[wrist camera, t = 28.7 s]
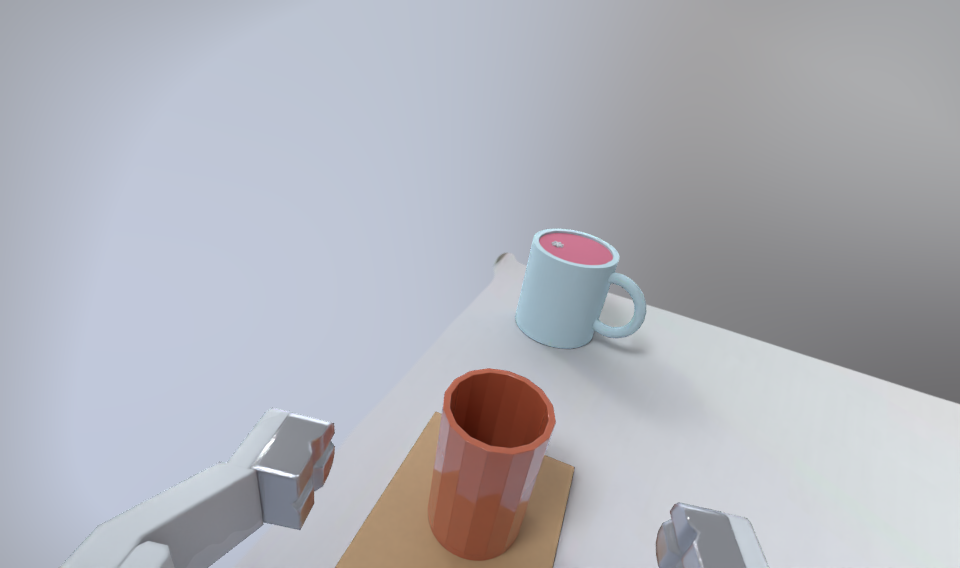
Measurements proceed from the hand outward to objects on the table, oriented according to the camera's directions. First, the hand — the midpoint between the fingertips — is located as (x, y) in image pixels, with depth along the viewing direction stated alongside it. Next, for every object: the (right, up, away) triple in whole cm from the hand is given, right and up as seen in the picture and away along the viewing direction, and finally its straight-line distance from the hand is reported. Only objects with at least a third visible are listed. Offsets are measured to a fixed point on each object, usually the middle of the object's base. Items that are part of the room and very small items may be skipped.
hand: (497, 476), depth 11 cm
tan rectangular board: (-1, -11, +20) cm, 23 cm away
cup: (-1, -11, +20) cm, 23 cm away
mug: (+10, -1, +41) cm, 42 cm away
